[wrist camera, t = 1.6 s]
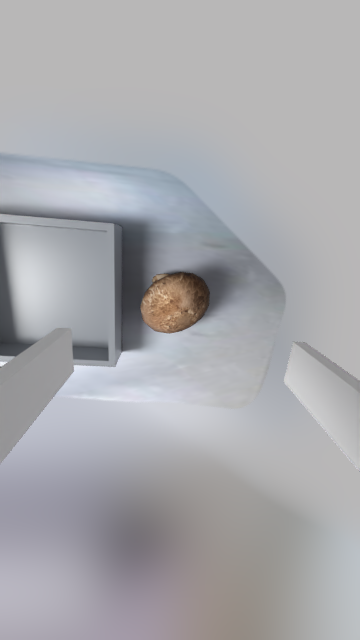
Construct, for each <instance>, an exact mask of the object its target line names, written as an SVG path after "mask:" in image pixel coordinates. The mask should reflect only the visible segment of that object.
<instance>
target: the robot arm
mask: <svg viewBox="0 0 360 640" xmlns="http://www.w3.org/2000/svg"><path fill="white" fill-rule="evenodd" d="M73 372H74V366H73V350H72V334H71V328H56V329H55V330H53V331H52V332H51V333H49V334H48V335H46V336H45V337H43V338H42V339H41V340H39V341H38V342H36V343H35V344H33V345H32V346H30V347H29V348H28V349H26V350H25V351H23V352H22V353H20V354H19V355H18V356H16V357H15V358H13V359H12V360H10V361H9V362H8V363H6V364H5V365H3V366H2V367H0V464H1V462H2V461H3V460H4V459H5V457H6V456H7V455H8V454H9V452H10V451H11V450H12V448H13V447H14V446H15V445H16V443H17V442H18V441H19V440H20V439H21V437H22V436H23V435H24V434H25V432H26V431H27V430H28V428H29V427H30V426H31V425H32V423H33V422H34V421H35V420H36V418H37V417H38V416H39V415H40V413H41V412H42V411H43V410H44V408H45V407H46V406H47V404H48V403H49V402H50V401H51V399H52V398H53V397H54V396H55V394H56V393H57V392H58V391H59V389H60V388H61V387H62V386H63V384H64V383H65V382H66V381H67V379H68V378H69V377H70V375H71V374H72V373H73ZM284 383H285V384H286V385H287V386H288V387H289V389H290V390H291V391H292V392H293V393H294V394H295V396H296V397H297V398H298V399H299V400H300V402H301V403H302V404H303V405H304V406H305V407H306V409H307V410H308V411H309V412H310V414H311V415H312V416H313V417H314V418H315V419H316V421H317V422H318V423H319V424H320V425H321V427H322V428H323V429H324V430H325V431H326V433H327V434H328V435H329V436H330V437H331V438H332V440H333V441H334V442H335V443H336V444H337V445H338V447H339V448H340V449H341V450H342V452H343V453H344V454H345V455H346V456H347V457H348V459H349V460H350V461H351V462H352V463H353V465H354V466H355V467H356V468H357V469H358V471H359V472H360V381H359V380H358V379H357V378H355V377H354V376H352V375H351V374H349V373H348V372H347V371H345V370H344V369H342V368H341V367H339V366H338V365H337V364H335V363H334V362H332V361H331V360H330V359H328V358H327V357H325V356H324V355H322V354H321V353H319V352H318V351H317V350H315V349H314V348H312V347H311V346H310V345H308V344H307V343H305V342H293V345H292V349H291V353H290V357H289V362H288V366H287V371H286V375H285V379H284Z"/></svg>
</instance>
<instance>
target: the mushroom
mask: <svg viewBox="0 0 360 640" xmlns="http://www.w3.org/2000/svg"><path fill="white" fill-rule="evenodd" d="M152 282H153V284H152V285H151V286H150V287H149V288H148V290H147V291H146V292H145V294H144V297H143V300H142V303H141V305H140V308H141V314H142V319H143V321H144V322H145V323H146V324H147V325H148V326H150V327H151V328H152V329H153V330H154V331H157V332H163V333H174V332H179V331H182V330H185V329H187V328H189V327H191V326H192V325H194V324H195V323H196V322H197V321H199V320H200V319H201V318H202V317H203V315H204V313H205V312H206V310H207V308H208V306H209V295H210V292H209V289H208V287H207V285H206V283H205V281H204V280H203V279H202V278H200V277H198V276H197V275H195V274H193V273H186V272H179V273H175V274H171V275H170V274H157V275H156V276H154V277H153V279H152Z"/></svg>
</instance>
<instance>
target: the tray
mask: <svg viewBox="0 0 360 640" xmlns="http://www.w3.org/2000/svg"><path fill="white" fill-rule="evenodd" d="M56 328H71V334H72V350H73V365H86V366H107V367H115V366H116V364H117V361H118V359H119V357H120V355H121V353H122V227H121V226H119V225H116V224H114V223H102V222H90V221H79V220H67V219H55V218H43V217H31V216H19V215H8V214H0V361H1V362H9V361H10V360H12V359H13V358H15V357H16V356H18V355H19V354H20V353H22V352H23V351H25V350H26V349H28V348H29V347H30V346H32V345H33V344H35V343H36V342H38V341H39V340H41V339H42V338H43V337H45V336H46V335H48V334H49V333H51V332H52V331H53V330H55V329H56Z"/></svg>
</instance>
